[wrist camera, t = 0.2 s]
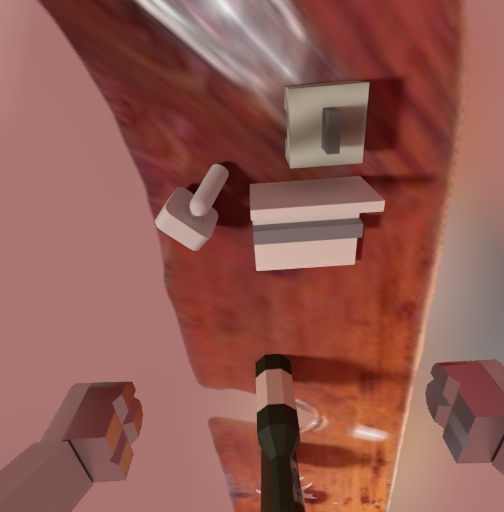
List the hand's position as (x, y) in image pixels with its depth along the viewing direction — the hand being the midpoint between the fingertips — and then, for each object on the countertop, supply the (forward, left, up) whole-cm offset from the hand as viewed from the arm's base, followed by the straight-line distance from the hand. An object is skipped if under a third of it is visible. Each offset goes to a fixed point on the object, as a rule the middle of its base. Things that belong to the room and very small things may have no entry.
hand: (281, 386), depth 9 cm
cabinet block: (0, +10, -48) cm, 48 cm away
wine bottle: (+52, +1, -48) cm, 71 cm away
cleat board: (+17, +8, -47) cm, 51 cm away
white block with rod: (+9, -8, -48) cm, 50 cm away
